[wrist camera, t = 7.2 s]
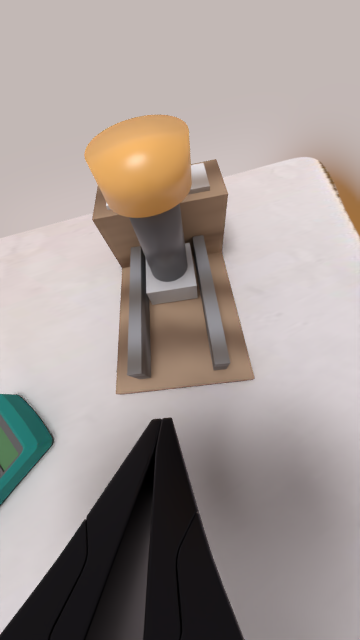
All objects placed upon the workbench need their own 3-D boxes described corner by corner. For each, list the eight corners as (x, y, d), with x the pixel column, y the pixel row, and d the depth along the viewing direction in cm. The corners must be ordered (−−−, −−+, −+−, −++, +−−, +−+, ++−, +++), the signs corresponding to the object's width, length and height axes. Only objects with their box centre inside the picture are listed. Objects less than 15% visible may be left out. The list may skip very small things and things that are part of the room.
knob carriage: (201, 297, 20) (195, 156, 9) (149, 305, 21) (77, 181, 9) (194, 257, 23) (182, 106, 11) (148, 264, 23) (90, 127, 12)
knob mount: (251, 379, 17) (288, 362, 10) (120, 394, 18) (59, 388, 11) (213, 226, 26) (216, 154, 19) (126, 241, 27) (96, 179, 20)
